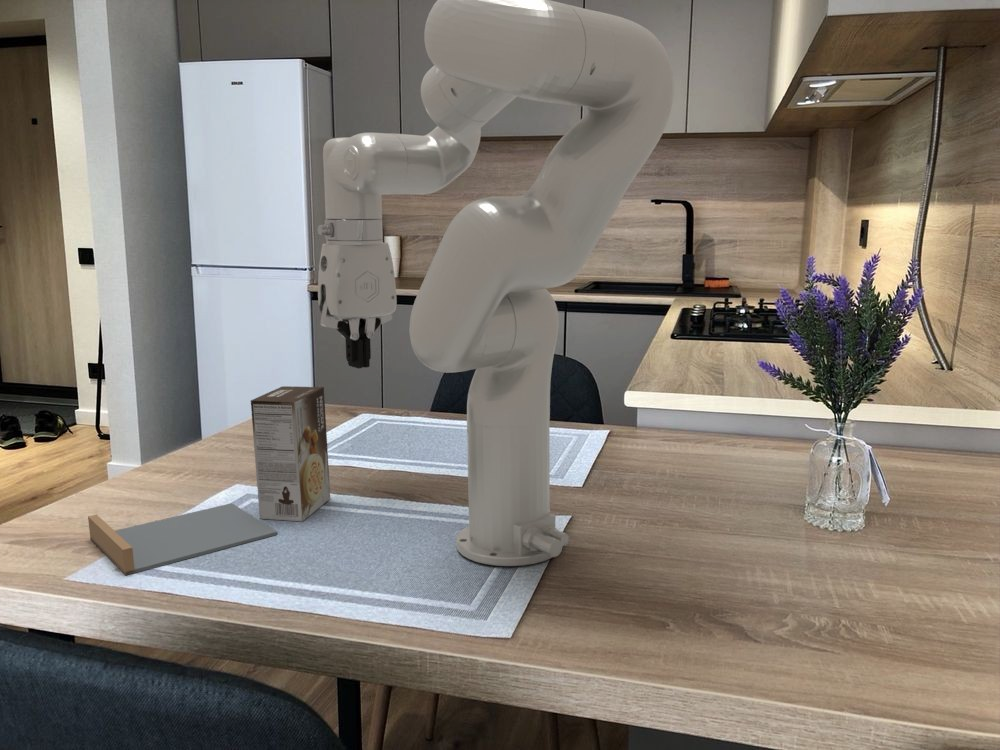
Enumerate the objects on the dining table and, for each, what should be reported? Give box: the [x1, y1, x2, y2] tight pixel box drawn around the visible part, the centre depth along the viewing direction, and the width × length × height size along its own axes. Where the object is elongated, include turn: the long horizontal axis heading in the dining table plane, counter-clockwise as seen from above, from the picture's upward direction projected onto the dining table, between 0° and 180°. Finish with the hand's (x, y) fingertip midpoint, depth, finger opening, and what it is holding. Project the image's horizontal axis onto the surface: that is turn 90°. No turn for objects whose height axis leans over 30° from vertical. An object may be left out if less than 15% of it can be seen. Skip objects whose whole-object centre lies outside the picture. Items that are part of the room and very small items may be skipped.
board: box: [87, 502, 278, 576], centre depth 103 cm, size 14×18×3 cm
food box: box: [250, 385, 331, 522], centre depth 111 cm, size 9×6×16 cm
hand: (358, 366), depth 117 cm, fingers closed
